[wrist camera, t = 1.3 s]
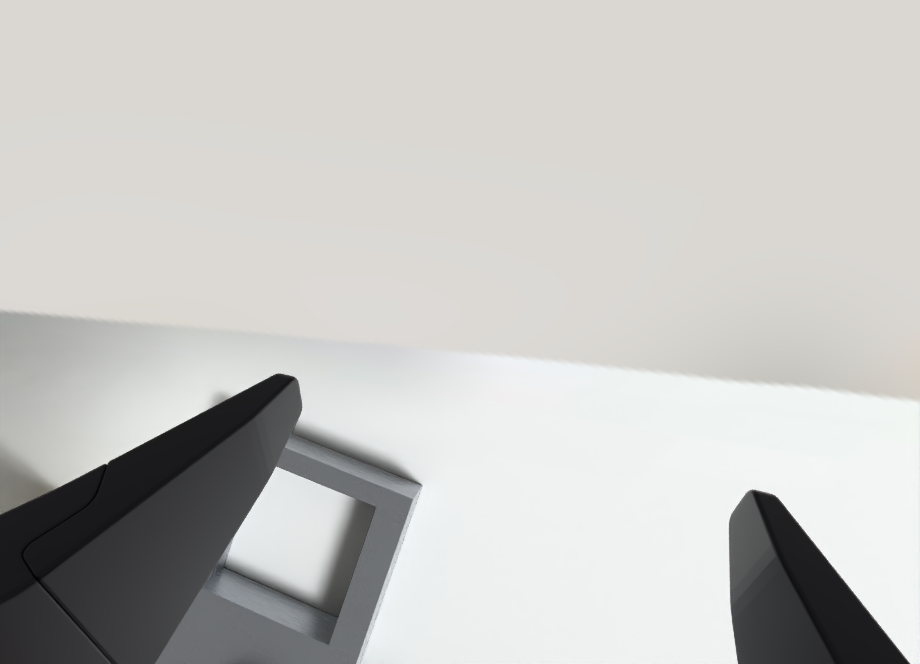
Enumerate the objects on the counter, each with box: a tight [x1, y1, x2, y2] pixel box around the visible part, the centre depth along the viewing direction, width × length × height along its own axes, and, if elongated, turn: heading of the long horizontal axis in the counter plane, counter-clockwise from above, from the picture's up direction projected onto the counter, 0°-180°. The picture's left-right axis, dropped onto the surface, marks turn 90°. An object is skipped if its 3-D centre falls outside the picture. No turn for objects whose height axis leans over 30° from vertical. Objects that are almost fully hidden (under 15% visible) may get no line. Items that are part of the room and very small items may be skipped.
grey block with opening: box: [155, 434, 422, 664], centre depth 24 cm, size 18×10×4 cm, turn 161°
